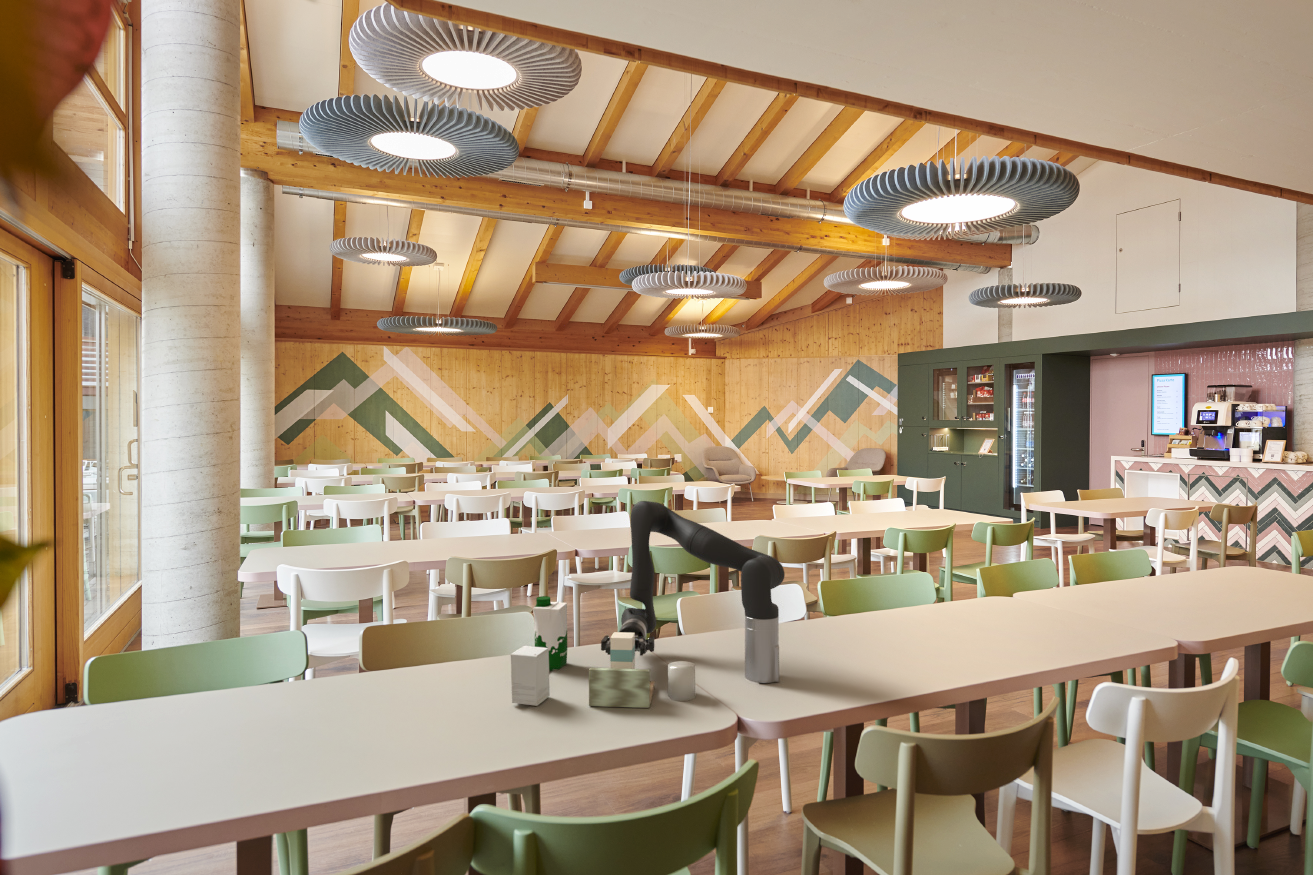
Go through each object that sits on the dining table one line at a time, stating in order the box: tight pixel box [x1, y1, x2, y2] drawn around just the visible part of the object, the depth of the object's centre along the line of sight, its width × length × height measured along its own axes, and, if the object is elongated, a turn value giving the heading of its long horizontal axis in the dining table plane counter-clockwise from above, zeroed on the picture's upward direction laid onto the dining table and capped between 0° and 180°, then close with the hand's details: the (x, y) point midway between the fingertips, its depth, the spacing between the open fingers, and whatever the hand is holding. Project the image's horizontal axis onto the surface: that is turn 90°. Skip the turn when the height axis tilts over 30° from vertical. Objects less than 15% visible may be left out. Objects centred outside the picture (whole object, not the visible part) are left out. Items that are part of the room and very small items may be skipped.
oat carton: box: [609, 631, 636, 669], centre depth 199 cm, size 6×6×14 cm
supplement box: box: [510, 645, 551, 707], centre depth 196 cm, size 7×7×13 cm
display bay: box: [588, 667, 656, 709], centre depth 198 cm, size 15×14×9 cm
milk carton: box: [532, 595, 568, 672], centre depth 223 cm, size 9×9×20 cm
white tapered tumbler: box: [667, 660, 696, 702], centre depth 199 cm, size 7×7×8 cm
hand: (625, 651), depth 202 cm, fingers open, 8 cm apart
